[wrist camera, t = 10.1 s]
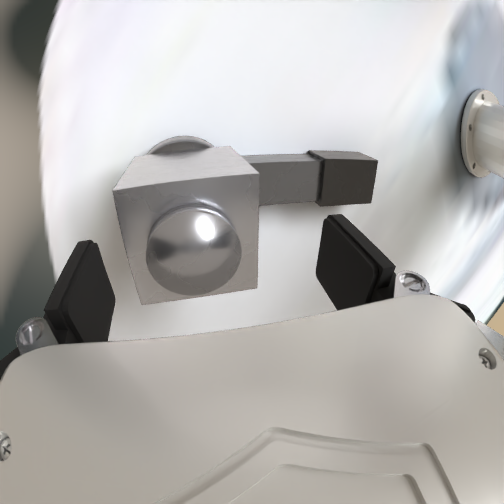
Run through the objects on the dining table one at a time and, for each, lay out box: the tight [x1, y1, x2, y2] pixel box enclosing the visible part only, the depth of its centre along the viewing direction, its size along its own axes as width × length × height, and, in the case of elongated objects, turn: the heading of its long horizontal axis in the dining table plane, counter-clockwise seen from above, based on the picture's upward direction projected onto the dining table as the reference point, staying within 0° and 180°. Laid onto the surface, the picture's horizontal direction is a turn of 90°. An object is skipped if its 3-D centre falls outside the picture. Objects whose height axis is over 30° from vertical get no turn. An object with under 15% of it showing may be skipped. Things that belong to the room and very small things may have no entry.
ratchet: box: [146, 136, 378, 206], centre depth 18 cm, size 18×7×8 cm, turn 90°
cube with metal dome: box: [113, 146, 259, 305], centre depth 14 cm, size 6×6×8 cm
